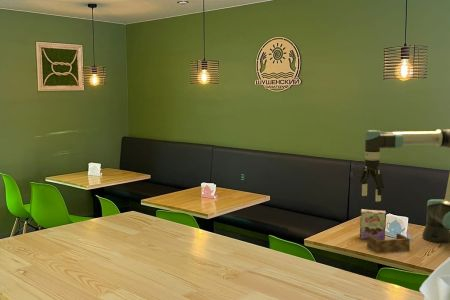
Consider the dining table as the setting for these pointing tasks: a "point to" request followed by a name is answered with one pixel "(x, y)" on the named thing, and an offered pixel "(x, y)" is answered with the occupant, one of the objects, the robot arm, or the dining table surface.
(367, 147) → the robot arm
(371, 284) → the dining table surface
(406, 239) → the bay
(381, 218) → the candy box
